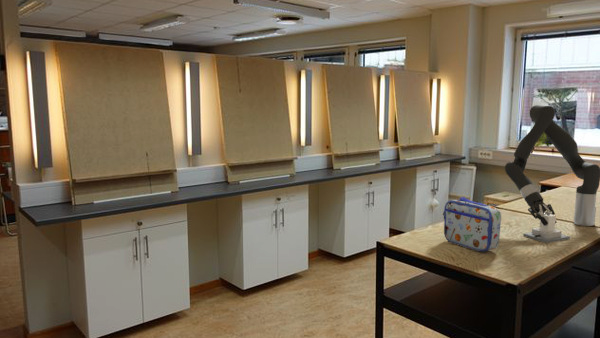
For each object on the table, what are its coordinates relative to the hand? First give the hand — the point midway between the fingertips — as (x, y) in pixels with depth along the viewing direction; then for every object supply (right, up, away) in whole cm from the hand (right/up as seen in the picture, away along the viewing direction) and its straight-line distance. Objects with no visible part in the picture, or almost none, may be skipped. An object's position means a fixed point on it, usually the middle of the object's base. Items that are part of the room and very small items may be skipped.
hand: (550, 224), depth 222 cm
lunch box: (-43, -9, -9) cm, 45 cm away
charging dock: (-1, -7, +3) cm, 7 cm away
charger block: (-1, -6, +3) cm, 6 cm away
